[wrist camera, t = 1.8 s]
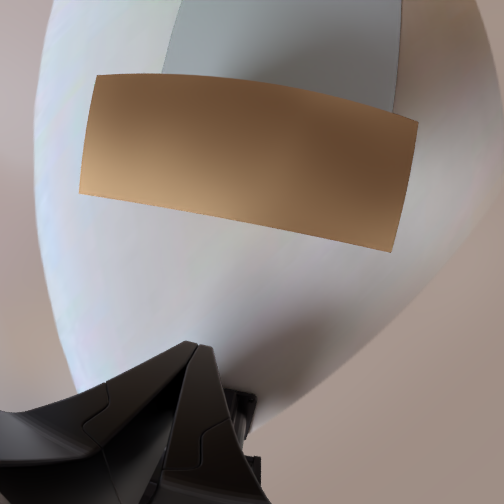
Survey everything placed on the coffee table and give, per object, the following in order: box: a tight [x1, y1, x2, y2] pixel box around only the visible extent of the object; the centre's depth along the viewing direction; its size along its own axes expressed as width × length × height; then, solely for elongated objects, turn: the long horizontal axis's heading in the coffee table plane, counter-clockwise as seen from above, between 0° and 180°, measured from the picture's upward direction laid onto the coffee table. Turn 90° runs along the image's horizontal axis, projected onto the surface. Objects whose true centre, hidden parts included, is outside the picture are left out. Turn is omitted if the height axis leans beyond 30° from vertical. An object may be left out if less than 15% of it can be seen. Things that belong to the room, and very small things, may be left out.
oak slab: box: [79, 74, 418, 253], centre depth 14 cm, size 4×10×12 cm, turn 80°
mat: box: [162, 0, 401, 113], centre depth 17 cm, size 14×16×1 cm
